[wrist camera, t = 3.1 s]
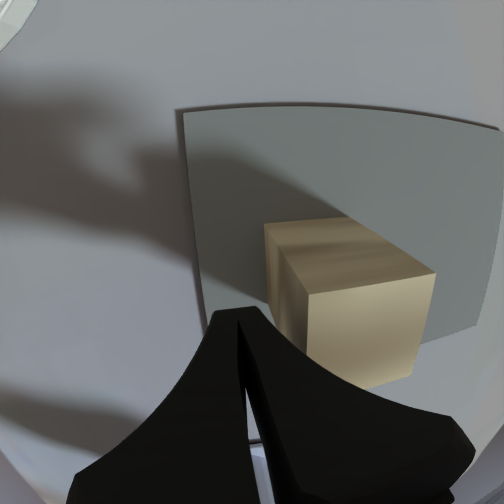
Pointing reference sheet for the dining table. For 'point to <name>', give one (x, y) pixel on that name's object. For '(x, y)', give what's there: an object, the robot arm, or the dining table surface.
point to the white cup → (13, 18)
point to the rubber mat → (345, 195)
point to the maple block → (347, 297)
